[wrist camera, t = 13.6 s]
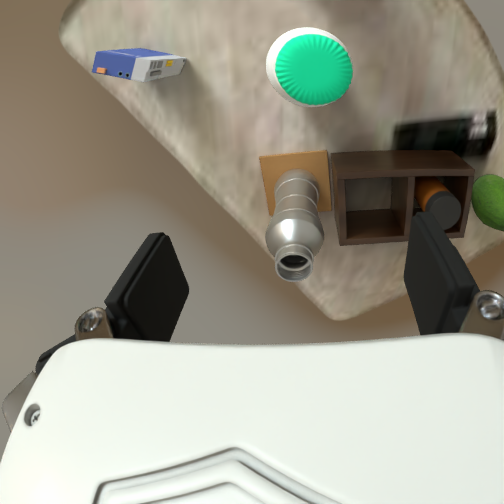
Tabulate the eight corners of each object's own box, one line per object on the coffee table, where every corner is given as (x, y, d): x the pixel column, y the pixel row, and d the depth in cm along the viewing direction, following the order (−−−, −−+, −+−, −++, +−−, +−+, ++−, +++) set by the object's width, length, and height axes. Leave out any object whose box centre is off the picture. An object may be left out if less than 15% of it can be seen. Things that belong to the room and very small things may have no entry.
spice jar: (407, 167, 41) (430, 196, 33) (436, 167, 40) (463, 195, 32) (406, 197, 44) (426, 231, 36) (434, 196, 43) (458, 229, 35)
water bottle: (331, 88, 36) (373, 128, 16) (280, 88, 37) (258, 127, 17) (329, 41, 32) (372, 18, 12) (276, 41, 33) (248, 17, 13)
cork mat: (259, 156, 44) (259, 157, 44) (326, 150, 42) (326, 150, 41) (269, 214, 50) (269, 215, 49) (331, 209, 47) (331, 210, 47)
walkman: (136, 64, 37) (89, 73, 27) (140, 48, 35) (94, 51, 25) (181, 75, 37) (144, 84, 28) (187, 57, 36) (150, 60, 26)
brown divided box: (330, 153, 42) (336, 172, 36) (451, 150, 38) (475, 169, 31) (334, 217, 48) (339, 245, 42) (445, 211, 44) (463, 237, 37)
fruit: (497, 202, 40) (531, 239, 31) (464, 212, 43) (494, 253, 34) (496, 161, 36) (535, 194, 27) (460, 171, 39) (496, 207, 30)
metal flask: (325, 195, 46) (336, 282, 30) (284, 208, 48) (275, 298, 32) (310, 158, 42) (316, 231, 27) (268, 173, 45) (248, 252, 29)
